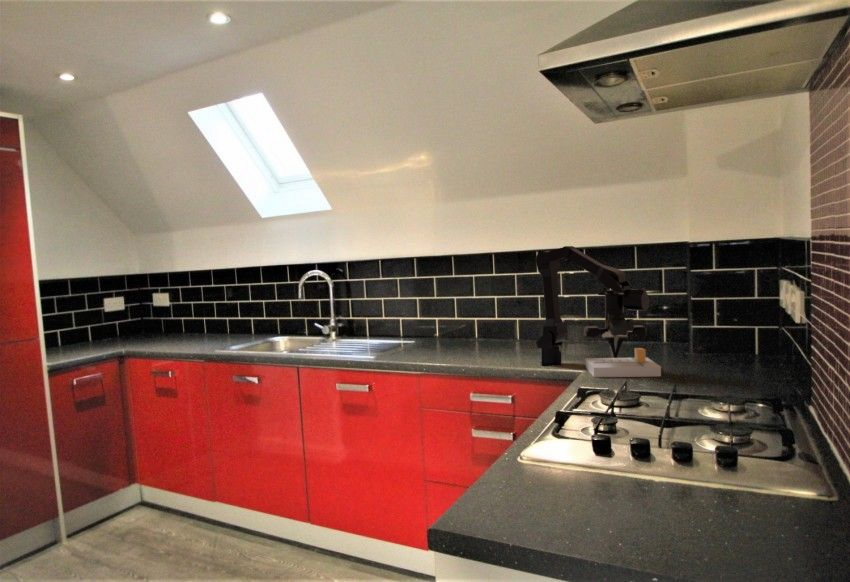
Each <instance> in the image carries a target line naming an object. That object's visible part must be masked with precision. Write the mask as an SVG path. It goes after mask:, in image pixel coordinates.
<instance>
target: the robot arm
mask: <svg viewBox="0 0 850 582" xmlns="http://www.w3.org/2000/svg"><path fill="white" fill-rule="evenodd" d="M567 260H568V261H570V262H572V263H573V264H575V265H577V266H578V267H579V268H581V269H583V270H585V271H586V272H588V273H590V274H591V275H593V276H594V277H595V278H596V280H597V281H598V283H600V284H601V285H602V286H603V288H602V289H601V290H600V291H599V292H598V296H604V317H605V318H604V319H605V320H604V321H605V322H604V323H605V324H604V325H605V326H604V327H602V328H599V327H598V326H597V325H587V326H584V327H583V335H584V336H585V337H587V338H597V337H598V336H599V335H601V338H602V339H604V340H606V342H607V344H608V347H609V349H610V352H611V354H612V358H618V355H619V352H620V350H621V346H622V344H623V343H624V341H625V340H628V339H629V336H628V334H629V335H630V334H634V335H635V336H637V337H647V336H648V330H647V327H646V326H644V325H642V324H640V325H639V324H636V325H635V320H634V318H628V319H626V318H625V309H626V310H628V311H639V312H640V311H642V312H643V311H644V312H645V311H647V310H648V309H649V307H650V298H649V294H648V293H647V289H646V288H634V287H633V286H632V284H631V283H630V282H629V281H628V279H627V276H626V272H624V271H623V270H620V269H618V268H615V267H612V266H608V265H605V264H604V263H600V262H599V261H598V260H597V259H594V258H593V257H590V256H589V255H588V254H586V253H584V252H583V251H581V250H579V249H577V248H576V247H575V246H573V245H566V246H563V247H560V248H557V249H553V250H542V251H539V252H538V253H537V255H536V256H535V263H536V268H537V271H538V273H539V275H540V276H541V279H542V287H543V288H542V290H543V300H544V309H545V311H544V312H545V320H544V323H543V326H542V335H541V337H539V339H537V341H535V343H536V347H537V349H540V361H539V362H540V365H541V366H542V367H553V366H552V365H560V366H561V364H562V351H561V350H560V347H561V346H563V343H564V341H565V340H566V338H567V335H568V334H569V331H568V323H567V321H563V319H562V318H561V314H560V312H561V311H560V302H559V290H558V279H557V277H558V273H559V270H560V265H561V262H564V261H567ZM614 336H615V337H614Z"/></svg>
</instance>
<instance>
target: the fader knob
mask: <svg viewBox="0 0 850 582" xmlns="http://www.w3.org/2000/svg"><path fill="white" fill-rule="evenodd" d="M646 352H647V351H646V349H644V347H634V358H635V361H636V362H638V363H646V357H647V356H646V355H647V353H646Z"/></svg>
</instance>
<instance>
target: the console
mask: <svg viewBox="0 0 850 582" xmlns="http://www.w3.org/2000/svg"><path fill="white" fill-rule="evenodd" d="M584 359H585V369H587V371H588V372H589V374H590V375H591V376H592V377H593V378H629V377H631V378H633V377H634V378H638V377H648V378H649V377H662V366H661V365H659V364H658V363H656V362H654V361H653V360H652V359H650V358H649V357H647V356H646V363H638V362H636V361H635V357H617V358H614V357H600V358H599V357H597V358H596V357H595V358H593V357H591V358H588V357H587V358H584Z"/></svg>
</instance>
